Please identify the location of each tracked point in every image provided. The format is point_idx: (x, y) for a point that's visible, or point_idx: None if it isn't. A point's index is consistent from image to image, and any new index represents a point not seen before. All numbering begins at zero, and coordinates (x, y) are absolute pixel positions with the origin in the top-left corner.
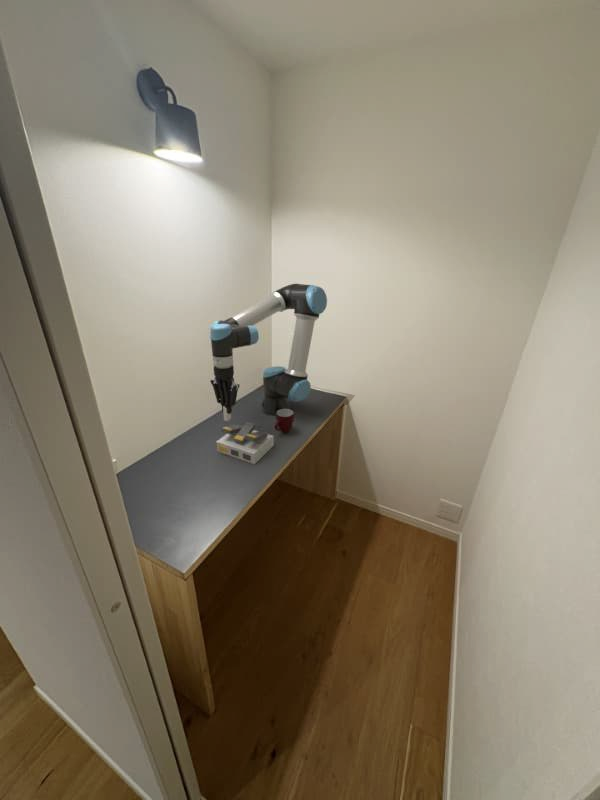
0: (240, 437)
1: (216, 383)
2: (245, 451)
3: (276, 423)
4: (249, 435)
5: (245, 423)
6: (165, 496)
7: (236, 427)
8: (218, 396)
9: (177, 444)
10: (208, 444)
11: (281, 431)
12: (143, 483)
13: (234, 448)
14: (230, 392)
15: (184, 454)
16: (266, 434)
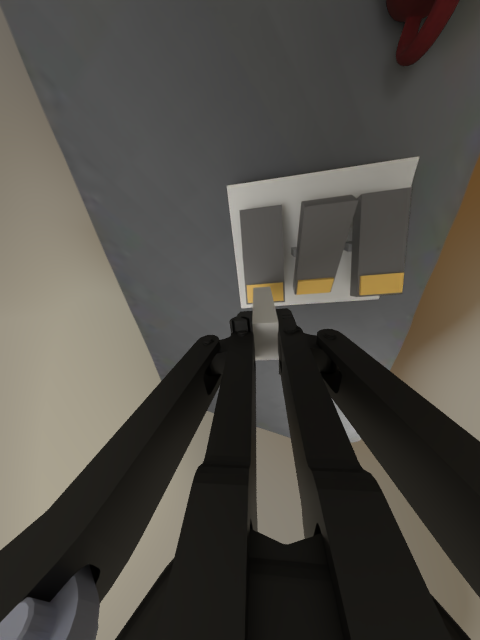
0: (319, 285)
1: (96, 618)
2: (347, 300)
3: (435, 25)
4: (374, 291)
5: (304, 217)
6: (262, 402)
7: (269, 246)
8: (206, 406)
9: (149, 321)
10: (201, 285)
11: (401, 21)
12: (213, 400)
13: (306, 302)
14: (342, 438)
15: (194, 336)
16: (409, 198)
